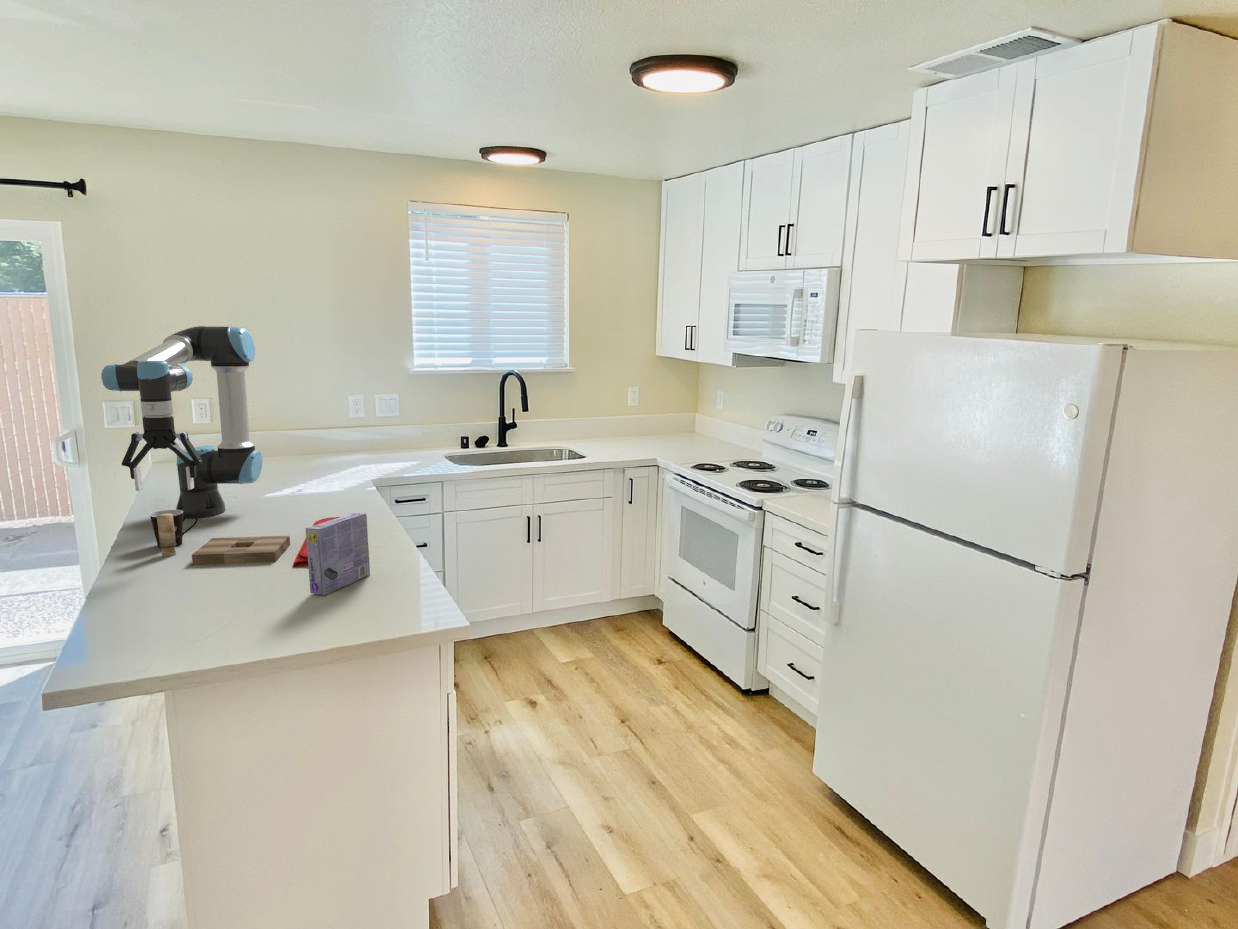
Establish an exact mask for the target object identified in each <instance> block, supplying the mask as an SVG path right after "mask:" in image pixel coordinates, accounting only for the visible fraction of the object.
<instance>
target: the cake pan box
mask: <svg viewBox="0 0 1238 929" xmlns="http://www.w3.org/2000/svg"><path fill="white" fill-rule="evenodd" d="M339 517H340V518H336V519H333V520H330V521H327V522H324V523H321V524H318V525H314V526H313V525H311V526H308V527H305V539H306V541H307V554H308V566H307V567H308V577H309V579H308V580H309V589H310V594H313V595H318V596H323V597H325V596H327V595H329V594H331V593H333V592H335V591H337V590H339V589H343V588H345V587H347V586H350V585H352V584H354V583H355V582H357V581H359V580H361V579H363V578H365V577H369V576H370V575H371V570H370V550H369V537H368V536H369V534H368V516H367V513H366V512H352V513H349V514H346V515H343V516H339Z"/></svg>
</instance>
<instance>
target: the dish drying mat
mask: <svg viewBox="0 0 1238 929" xmlns="http://www.w3.org/2000/svg"><path fill="white" fill-rule="evenodd" d="M340 517H341V516H336V517H332V516H331V517H326V518H321V519H319V520H316V521H315V522H314V523H313V524H312V526H314V525H318V524H321V523H324V522H327V521H330V520H333V519H336V518H340ZM292 565H293V567H294V568H299V567H301V568H302V567H308V554H307V541H306V538H305V539H304V541H303V543H302V545H301V547H300V549H299V551H298V552H297V555H296V556H295V559H294V561H293V564H292Z"/></svg>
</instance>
